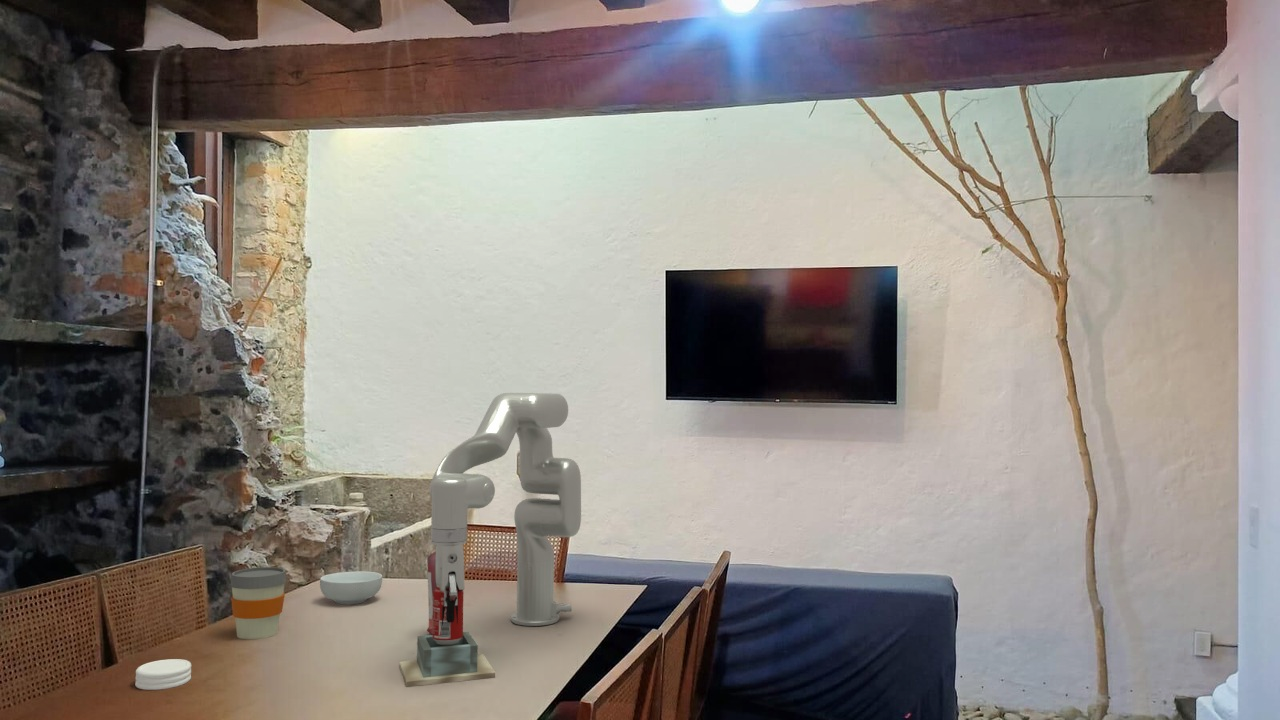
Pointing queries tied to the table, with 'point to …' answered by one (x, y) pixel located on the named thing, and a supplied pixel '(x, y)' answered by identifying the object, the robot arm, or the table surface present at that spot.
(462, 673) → the well board
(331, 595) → the cereal bowl
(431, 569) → the liquor
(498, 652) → the table surface
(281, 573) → the reusable coffee cup
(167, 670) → the coaster
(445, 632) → the beverage can
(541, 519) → the robot arm
